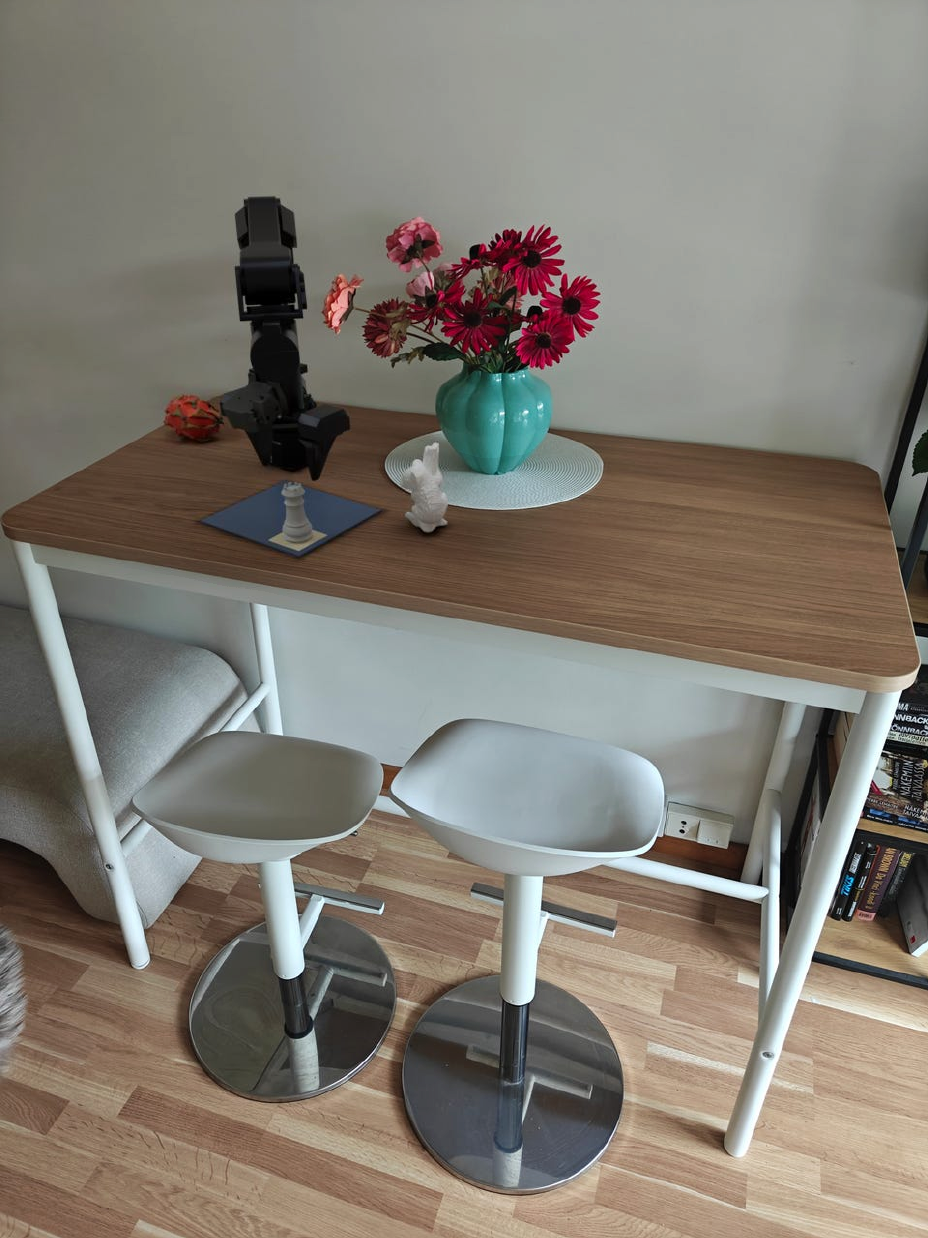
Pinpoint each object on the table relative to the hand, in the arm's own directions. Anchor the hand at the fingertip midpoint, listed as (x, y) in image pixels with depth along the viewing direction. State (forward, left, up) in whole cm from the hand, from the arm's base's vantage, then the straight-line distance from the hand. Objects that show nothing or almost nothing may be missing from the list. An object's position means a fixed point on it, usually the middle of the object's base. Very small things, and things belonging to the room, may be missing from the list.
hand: (290, 472), depth 122 cm
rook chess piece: (0, 0, -10) cm, 10 cm away
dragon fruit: (-20, -44, -10) cm, 50 cm away
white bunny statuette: (-14, +13, -10) cm, 22 cm away
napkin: (-5, -6, -10) cm, 13 cm away
